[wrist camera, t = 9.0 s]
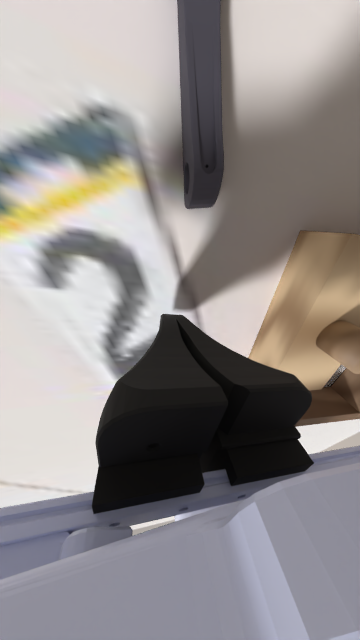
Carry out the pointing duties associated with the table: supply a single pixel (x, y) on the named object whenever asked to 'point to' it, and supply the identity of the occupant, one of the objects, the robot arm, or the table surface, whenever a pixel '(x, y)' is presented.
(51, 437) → the table surface
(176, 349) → the robot arm
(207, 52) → the bracket
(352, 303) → the wooden box with knob
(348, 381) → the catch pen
